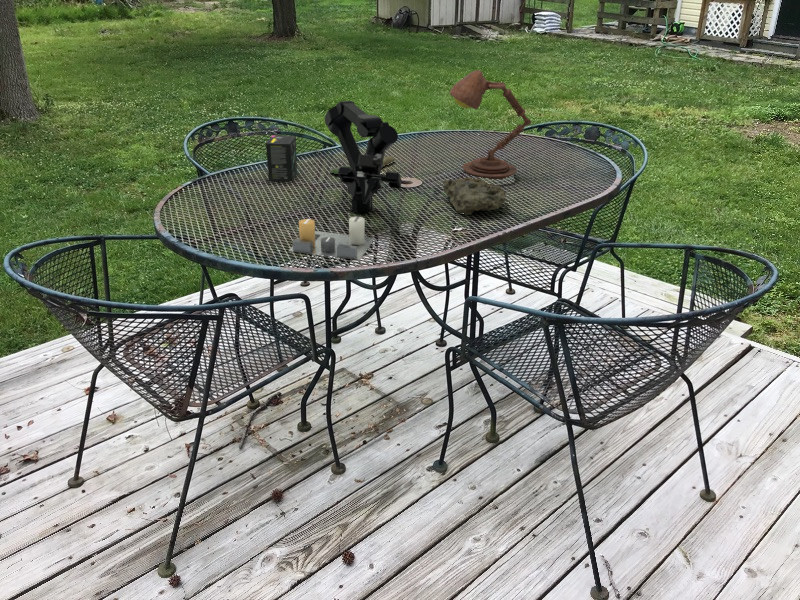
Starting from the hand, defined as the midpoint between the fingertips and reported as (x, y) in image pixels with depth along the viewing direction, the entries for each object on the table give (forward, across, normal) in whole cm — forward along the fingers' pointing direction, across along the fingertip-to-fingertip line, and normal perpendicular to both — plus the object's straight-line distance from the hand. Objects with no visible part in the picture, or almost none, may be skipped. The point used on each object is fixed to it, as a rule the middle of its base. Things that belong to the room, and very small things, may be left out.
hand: (364, 202), depth 192 cm
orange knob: (+17, -13, -4) cm, 21 cm away
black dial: (+18, -6, -4) cm, 19 cm away
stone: (-18, +29, +34) cm, 48 cm away
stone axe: (-36, -18, +52) cm, 65 cm away
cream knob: (+12, 0, 0) cm, 12 cm away
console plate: (+16, -6, -1) cm, 17 cm away
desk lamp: (-42, +29, +57) cm, 76 cm away
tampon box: (-25, -45, +40) cm, 65 cm away
